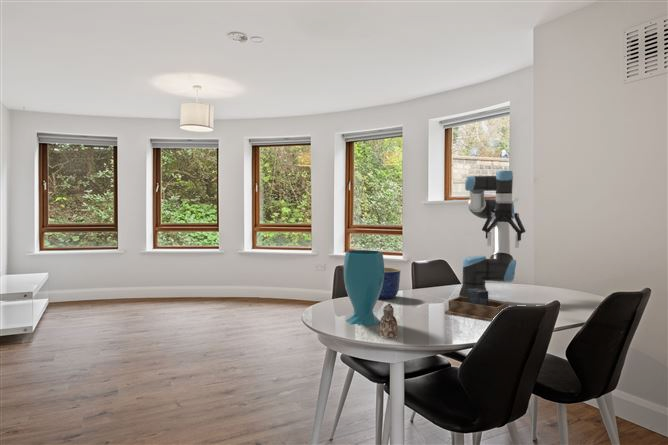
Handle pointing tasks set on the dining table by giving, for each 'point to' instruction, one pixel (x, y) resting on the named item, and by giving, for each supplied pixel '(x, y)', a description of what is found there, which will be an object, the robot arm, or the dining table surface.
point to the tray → (474, 309)
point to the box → (478, 296)
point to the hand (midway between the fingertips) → (502, 246)
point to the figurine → (388, 323)
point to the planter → (390, 283)
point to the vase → (363, 283)
